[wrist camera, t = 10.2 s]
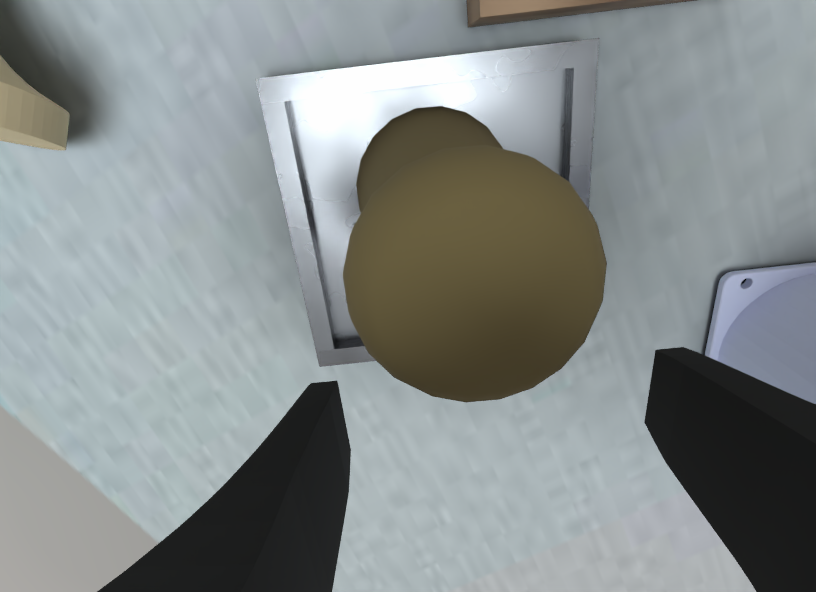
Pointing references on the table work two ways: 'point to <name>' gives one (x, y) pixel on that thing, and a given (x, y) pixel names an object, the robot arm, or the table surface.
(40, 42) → the table surface
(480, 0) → the walnut stand
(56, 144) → the door knob
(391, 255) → the olive peg figure
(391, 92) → the grey square tray
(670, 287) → the table surface
